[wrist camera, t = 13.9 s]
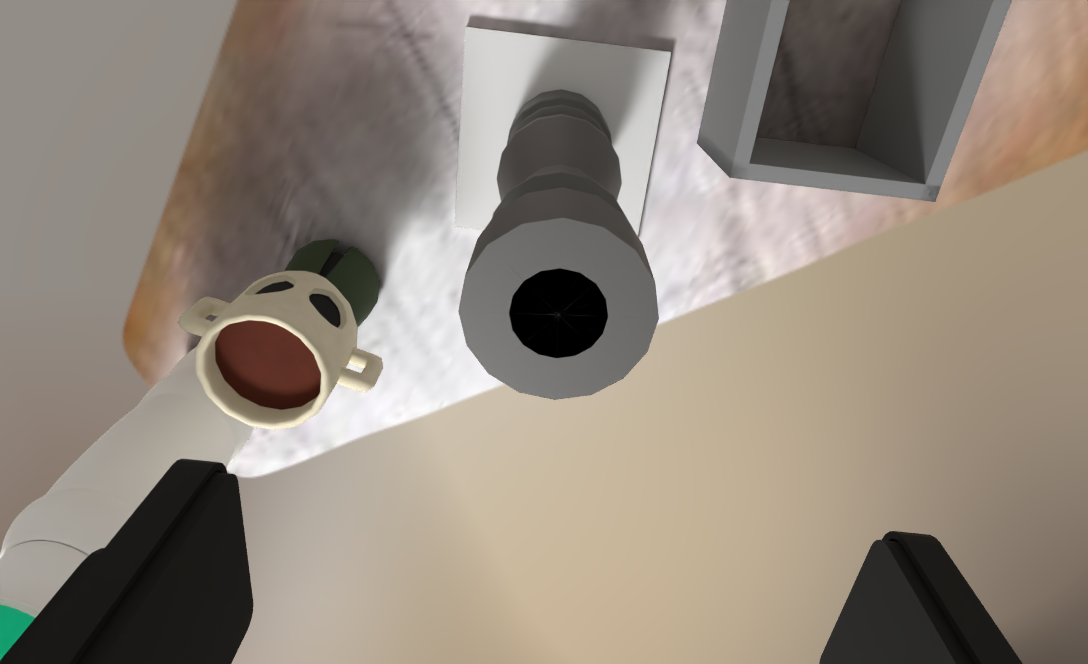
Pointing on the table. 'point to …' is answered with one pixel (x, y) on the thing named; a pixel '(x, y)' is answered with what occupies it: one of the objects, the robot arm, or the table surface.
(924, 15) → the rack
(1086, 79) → the table surface
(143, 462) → the water bottle
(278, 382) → the character mug
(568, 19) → the table surface
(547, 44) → the mat
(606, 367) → the candle holder
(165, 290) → the table surface
